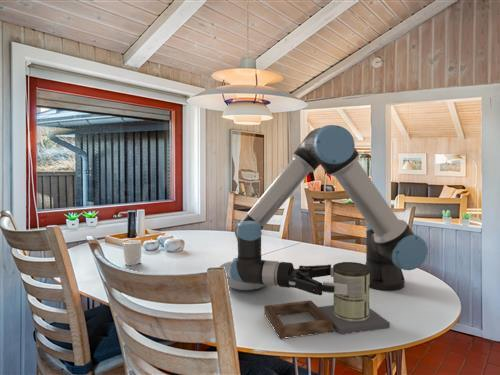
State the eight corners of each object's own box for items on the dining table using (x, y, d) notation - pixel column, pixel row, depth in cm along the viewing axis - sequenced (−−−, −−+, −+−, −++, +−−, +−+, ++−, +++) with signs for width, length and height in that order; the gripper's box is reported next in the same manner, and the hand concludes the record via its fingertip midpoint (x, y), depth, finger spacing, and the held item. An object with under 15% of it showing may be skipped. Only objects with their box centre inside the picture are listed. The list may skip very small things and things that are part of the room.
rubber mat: (360, 306, 116) (360, 301, 116) (389, 327, 102) (389, 322, 102) (316, 311, 113) (316, 307, 113) (339, 334, 98) (339, 329, 98)
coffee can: (329, 307, 112) (329, 262, 111) (362, 306, 113) (362, 261, 112) (338, 322, 102) (338, 273, 101) (375, 321, 103) (375, 271, 101)
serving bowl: (212, 295, 128) (211, 276, 127) (224, 275, 148) (224, 259, 148) (272, 297, 125) (272, 277, 124) (276, 277, 146) (276, 260, 145)
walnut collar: (311, 309, 115) (310, 300, 114) (332, 331, 100) (332, 321, 100) (264, 315, 111) (264, 305, 111) (280, 339, 97) (280, 328, 96)
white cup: (136, 266, 163) (135, 244, 162) (120, 265, 165) (119, 243, 164) (145, 261, 171) (144, 240, 170) (129, 260, 172) (128, 239, 171)
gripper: (289, 273, 126) (354, 280, 118) (266, 300, 103) (344, 311, 95) (289, 252, 125) (354, 257, 118) (266, 274, 102) (344, 282, 95)
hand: (350, 281), depth 106 cm, fingers open, 13 cm apart
